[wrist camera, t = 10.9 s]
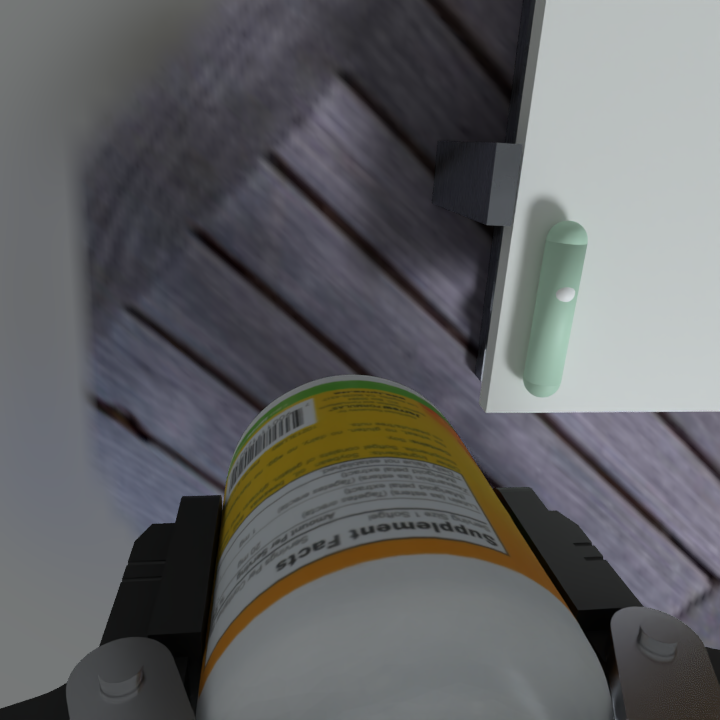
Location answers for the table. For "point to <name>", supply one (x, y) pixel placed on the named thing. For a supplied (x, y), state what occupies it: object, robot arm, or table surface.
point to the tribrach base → (487, 177)
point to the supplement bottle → (380, 576)
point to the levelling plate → (613, 215)
